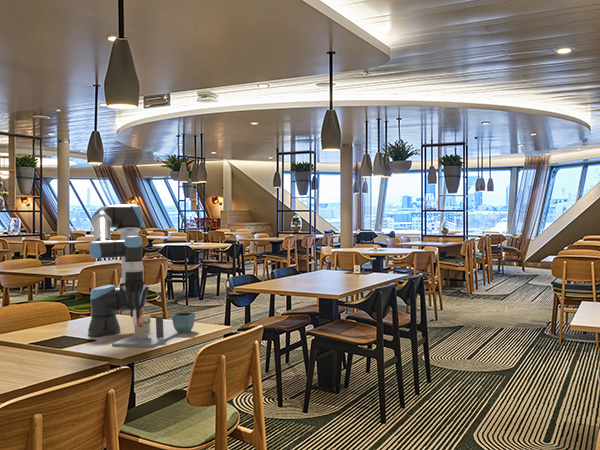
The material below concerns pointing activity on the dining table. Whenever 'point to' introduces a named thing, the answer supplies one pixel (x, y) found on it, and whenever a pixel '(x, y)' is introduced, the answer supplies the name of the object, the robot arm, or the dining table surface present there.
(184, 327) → the flower pot
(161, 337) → the grey flat base fixture
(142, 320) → the beige stepped block
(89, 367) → the dining table surface
